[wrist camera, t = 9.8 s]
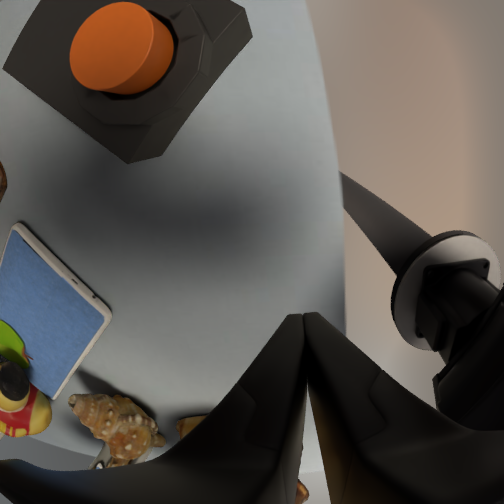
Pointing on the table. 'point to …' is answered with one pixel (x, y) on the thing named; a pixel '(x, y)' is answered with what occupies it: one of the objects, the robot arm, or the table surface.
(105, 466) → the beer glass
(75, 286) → the tablet
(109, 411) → the seashell
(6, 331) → the decorative leaf
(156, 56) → the power button
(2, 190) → the book
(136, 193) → the table surface
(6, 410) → the toy
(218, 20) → the button base
